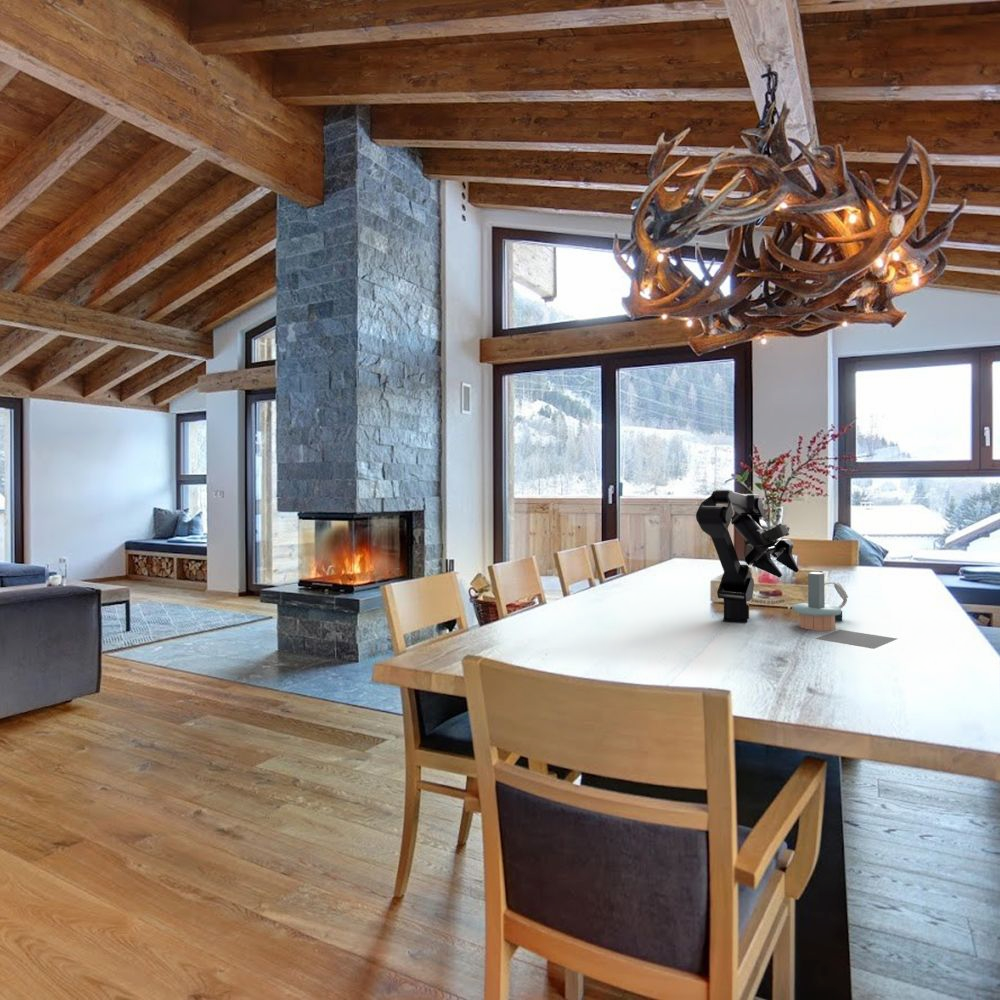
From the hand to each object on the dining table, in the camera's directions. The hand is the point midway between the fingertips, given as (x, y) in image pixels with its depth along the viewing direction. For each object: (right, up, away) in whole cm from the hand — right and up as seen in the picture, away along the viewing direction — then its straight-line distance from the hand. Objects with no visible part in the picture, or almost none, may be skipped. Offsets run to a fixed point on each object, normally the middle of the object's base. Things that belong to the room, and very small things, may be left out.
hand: (789, 573), depth 192 cm
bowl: (+4, -14, -9) cm, 17 cm away
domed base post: (+3, -9, -9) cm, 13 cm away
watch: (+12, -13, +1) cm, 18 cm away
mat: (+7, -14, -23) cm, 28 cm away
